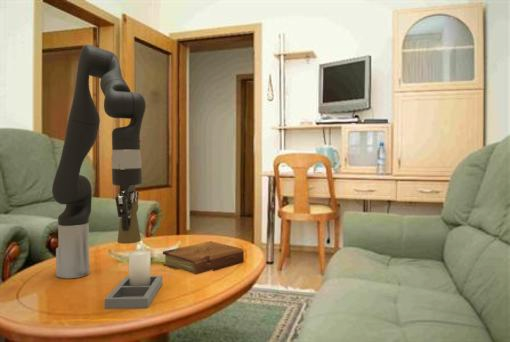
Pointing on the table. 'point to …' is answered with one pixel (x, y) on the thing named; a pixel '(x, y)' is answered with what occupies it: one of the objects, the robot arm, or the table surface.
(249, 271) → the table surface
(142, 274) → the cylinder
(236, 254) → the diary
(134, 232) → the cork
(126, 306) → the tray
